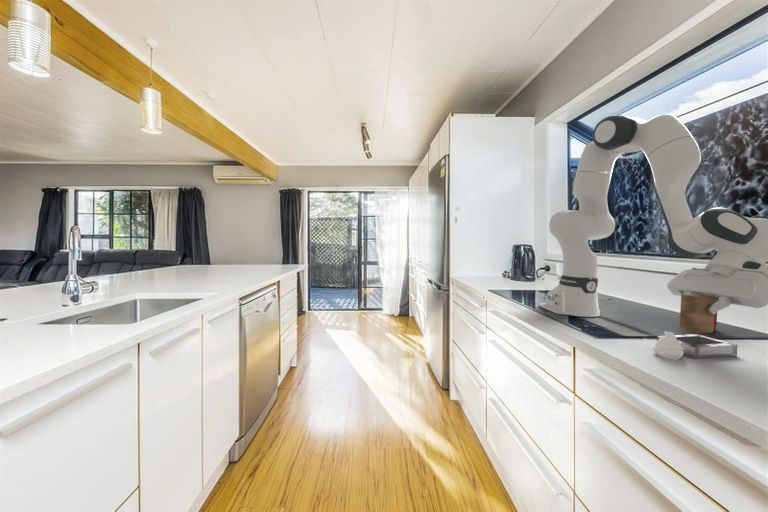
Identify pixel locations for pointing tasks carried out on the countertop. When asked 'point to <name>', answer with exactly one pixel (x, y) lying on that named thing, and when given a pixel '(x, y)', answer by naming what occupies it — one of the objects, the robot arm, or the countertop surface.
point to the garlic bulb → (668, 347)
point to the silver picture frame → (705, 346)
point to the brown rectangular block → (696, 313)
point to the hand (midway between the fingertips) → (696, 309)
